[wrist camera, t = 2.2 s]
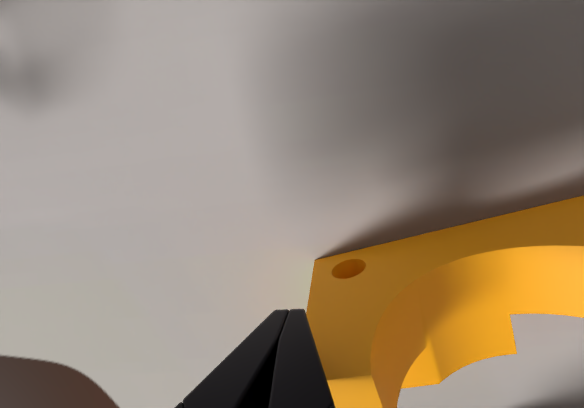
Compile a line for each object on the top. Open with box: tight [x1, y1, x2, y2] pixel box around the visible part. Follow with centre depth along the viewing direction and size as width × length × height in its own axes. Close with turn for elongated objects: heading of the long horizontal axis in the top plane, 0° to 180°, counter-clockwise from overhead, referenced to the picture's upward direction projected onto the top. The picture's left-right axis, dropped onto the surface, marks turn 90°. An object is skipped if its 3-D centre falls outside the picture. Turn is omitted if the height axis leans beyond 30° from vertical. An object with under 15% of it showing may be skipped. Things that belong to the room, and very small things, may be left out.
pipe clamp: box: [306, 195, 584, 408], centre depth 10 cm, size 12×4×6 cm, turn 110°
